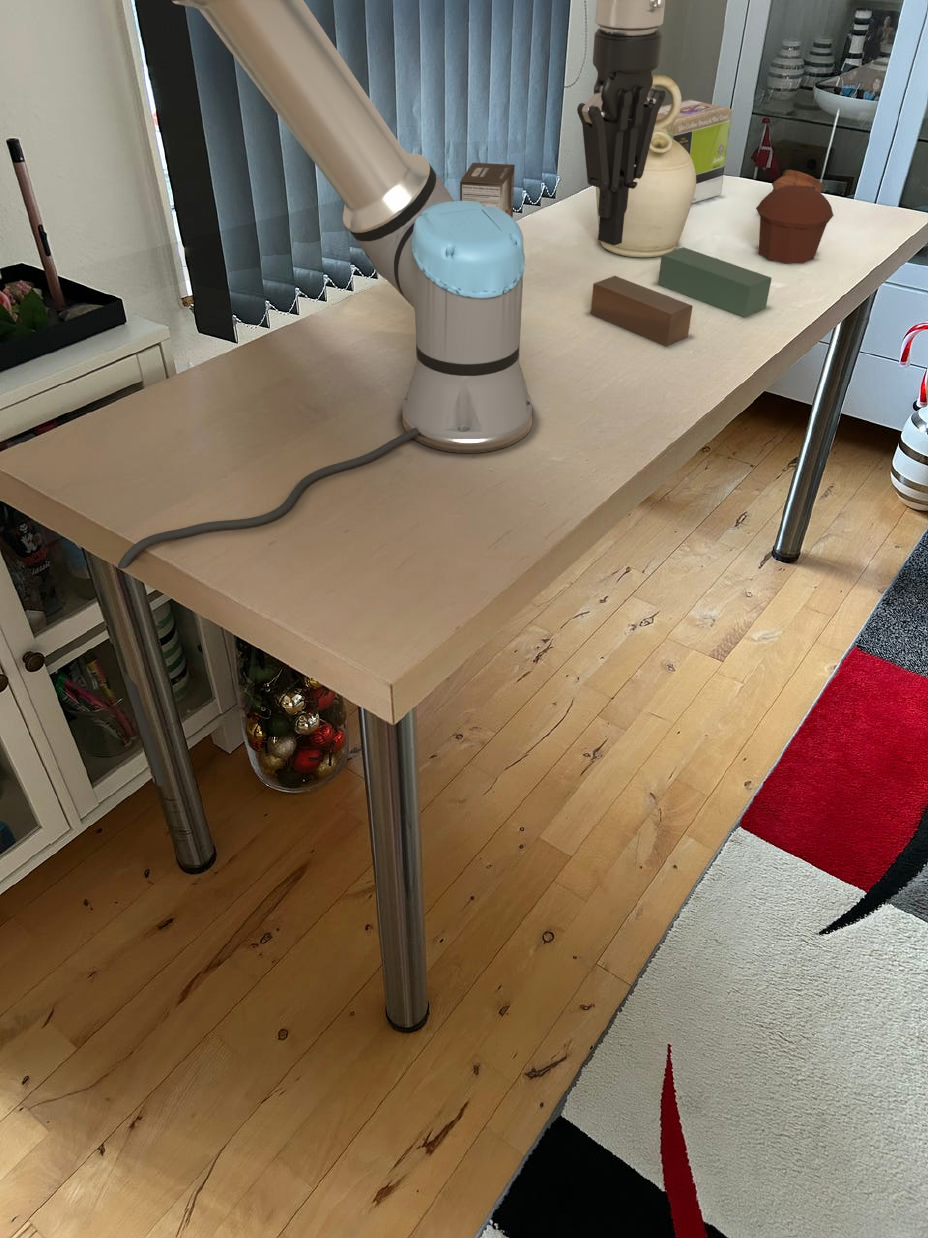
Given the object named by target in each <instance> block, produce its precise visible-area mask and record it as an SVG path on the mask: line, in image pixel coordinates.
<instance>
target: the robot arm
mask: <svg viewBox="0 0 928 1238" xmlns="http://www.w3.org/2000/svg"><path fill="white" fill-rule="evenodd" d="M171 2H172V3H173V4H175V5H179V6H185V7H186V6H187V7H192V8H195V9H197V10H199V12H200V13H201V14H202V16H203V17H204V18H205V20H206V21H207V23H208V24H209V25H210V26H211V28H212V29H213V31H214V32H215V33H216V35H217V36H218V37H219V38H220V39H221V41H222V42H223V44H224V45H225V46H226V48H227V49H228V51H229V52H230V53H231V54H232V55H233V57H234V59H236V61H237V62H238V63H239V65H240V66H241V67H242V69H243V70H244V71H245V73H246V74H247V76H249V78H250V79H251V81H252V82H253V83H254V84H255V86H256V87H257V89H258V90H259V92H260V93H261V94H262V95H263V97H264V98H265V99H266V101H267V102H268V103H269V105H270V106H271V107H272V109H273V110H274V111H275V112H276V114H277V115H278V116H279V118H280V119H281V120H282V121H283V123H284V125H285V126H286V127H287V128H288V130H289V131H290V132H291V134H292V135H293V136H294V138H295V139H296V141H297V142H298V143H299V144H300V146H301V147H302V149H304V151H305V152H306V153H307V155H308V156H309V158H310V159H311V160H312V162H313V163H314V164H315V165H316V167H317V168H318V170H319V171H320V172H321V173H322V175H323V177H324V178H325V179H326V180H327V182H328V183H329V184H330V185H331V187H332V188H333V189H334V190H335V192H336V194H337V195H338V196H339V197H340V199H341V200H342V201H343V203H344V207H343V213H342V222H343V225H344V226H345V228H346V229H347V230H348V232H349V233H350V234H351V236H352V237H353V238H354V239H355V240H356V243H358V244H359V246H360V247H361V250H362V252H363V253H364V255H365V258H366V260H367V262H368V263H369V264H370V266H371V267H372V268H373V269H374V271H375V272H376V273H377V274H378V275H380V277H382V278H383V279H384V280H386V281H387V282H388V283H389V284H390V285H391V287H393V288H394V289H395V290H396V292H398V293H399V294H400V295H401V297H403V299H405V301H406V302H407V303H408V304H409V305H410V306H411V307H412V308H413V310H414V323H415V325H414V326H415V351H416V352H415V354H416V357H415V358H416V360H415V364H414V368H413V370H412V371H413V372H412V374H411V379H410V383H409V388H408V390H407V392H406V394H405V396H404V399H403V402H402V407H401V409H402V410H401V411H402V412H401V413H402V414H401V415H402V425H403V428H404V430H405V432H404V433H402V434H400V435H399V436H397V437H395V438H393V439H391V440H389V441H388V442H386V443H384V444H382V445H381V446H379V447H378V448H376V449H374V450H372V451H370V452H368V453H365V454H363V455H361V456H358V457H354V458H351V459H349V460H345V461H340V462H338V463H334V464H330V465H328V466H324V467H322V468H319V469H317V470H315V471H312V472H311V473H309V474H307V475H305V477H303V478H301V480H300V481H299V482H298V483H296V485H295V486H294V488H293V489H292V490H291V492H290V494H288V495H289V496H288V497H287V498H286V500H285V501H284V502H282V504H281V505H279V506H278V507H277V508H275V509H273V510H271V511H269V512H266V513H264V514H261V515H258V516H257V515H256V516H252V517H247V518H239V519H229V520H228V519H227V520H225V519H224V520H214V521H209V522H203V523H198V524H193V525H190V526H186V527H182V528H177V529H171V530H168V531H161V532H157V533H155V534H151V535H149V536H146V537H144V538H143V539H140V540H139V541H137V542H136V543H134V544H133V545H132V546H131V547H130V548H129V549H128V550H127V551H126V552H125V554H123V556H122V557H121V559H120V561H119V562H118V564H117V569H119V570H123V569H127V568H128V567H129V566H130V565H131V564H132V562H133V561H134V560H135V558H137V556H138V555H140V554H141V552H143V551H144V550H146V549H147V548H149V547H151V546H154V545H156V544H160V543H163V542H167V541H172V540H176V539H180V538H181V539H183V538H186V537H191V536H194V535H197V534H202V533H206V532H212V531H223V530H235V529H244V528H251V527H258V526H262V525H266V524H268V523H270V522H273V521H275V520H277V519H279V518H281V517H283V516H284V515H285V514H287V513H288V512H289V511H290V510H291V509H292V508H293V507H294V505H295V504H296V502H297V501H298V499H299V498H300V496H301V495H302V493H303V492H304V490H305V489H307V488H308V487H309V486H310V485H312V484H313V483H315V482H316V481H318V480H320V479H322V478H324V477H326V476H329V475H332V474H335V473H338V472H342V471H345V470H349V469H352V468H356V467H359V466H362V465H365V464H367V463H370V462H372V461H374V460H376V459H378V458H380V457H382V456H384V455H385V454H387V453H389V452H391V451H392V450H393V449H395V448H397V447H399V446H401V445H403V444H405V443H406V442H408V441H410V440H412V439H413V440H415V441H416V442H418V443H419V444H422V445H424V446H427V447H429V448H432V449H435V450H438V451H443V452H449V453H458V454H477V453H486V452H492V451H497V450H501V449H504V448H507V447H510V446H512V445H514V444H516V443H518V442H519V441H521V440H522V439H523V438H525V437H526V435H527V434H528V433H529V432H530V430H531V428H532V425H533V412H534V411H533V410H534V409H533V407H534V406H533V403H532V399H531V396H530V394H529V391H528V386H527V383H526V379H525V377H524V373H523V369H522V366H521V363H520V362H521V361H520V345H521V327H522V326H521V325H522V306H523V305H522V304H523V283H524V271H525V268H526V267H525V266H526V263H525V262H526V255H525V252H524V237H523V236H524V235H523V232H522V229H521V226H520V225H519V224H518V222H517V221H516V219H514V217H513V218H512V217H511V216H510V215H508V214H507V213H505V212H504V211H502V210H500V209H498V208H495V207H493V206H489V207H485V206H484V205H483V204H482V203H477V202H470V201H460V200H454V198H453V197H452V196H451V194H450V192H449V191H448V189H447V188H446V186H445V184H444V183H443V181H442V180H441V178H440V177H439V176H438V174H437V172H436V171H435V170H434V168H433V166H431V164H430V162H429V160H428V159H427V158H426V157H425V156H424V155H422V154H419V153H411V152H406V151H405V150H404V148H403V147H402V145H401V144H400V142H399V140H398V139H397V138H396V136H395V135H394V134H393V132H392V130H391V129H390V128H389V126H388V125H387V123H386V121H385V120H384V118H383V117H382V115H381V114H380V112H379V110H378V109H377V108H376V106H375V105H374V103H373V102H372V101H371V99H370V97H369V96H368V95H367V93H366V91H365V89H363V87H362V86H361V84H360V82H359V81H358V79H357V78H356V77H355V75H354V74H353V72H352V71H351V69H350V68H349V66H348V65H347V63H346V61H345V60H344V59H343V57H342V56H341V55H340V53H339V51H338V50H337V48H336V47H335V45H334V44H333V42H332V41H331V39H330V38H329V36H328V35H327V33H326V32H325V30H324V29H323V27H322V26H321V25H320V23H319V21H318V20H317V18H316V17H315V15H314V14H313V12H312V11H311V10H310V8H309V6H308V4H307V3H306V2H305V1H304V0H171ZM595 6H596V7H595V17H594V18H595V19H594V21H595V24H596V25H597V26H598V27H599V28H597V29H596V31H595V32H594V35H593V36H594V37H593V53H592V65H593V66H594V68H595V70H596V72H597V77H596V81H595V84H594V86H593V96H592V97H591V98H590V99H589V100H588V101H587V103H584V102H580V103H578V105H577V109H576V112H577V115H578V117H579V119H580V122H581V125H582V136H583V146H584V147H583V148H584V157H585V158H584V159H585V168H586V169H585V170H586V180H587V185H589V186H592V187H595V188H596V187H598V188H599V190H600V195H599V208H598V214H599V216H600V222H599V226H598V234H597V236H598V237H597V241H599V242H601V241H602V242H605V243H608V244H611V245H613V246H614V245H617V244H620V243H622V236H623V225H624V215H625V212H626V210H627V203H628V193H629V188H631V189H634V188H636V186H637V182H634V181H633V180H635V179H636V178H637V179H640V178H641V177H642V175H643V172H644V168H645V164H646V159H647V155H648V151H649V147H650V143H651V139H652V135H653V131H654V127H655V123H656V119H657V115H658V112H659V109H660V107H661V106H663V103H664V101H665V99H666V94H667V93H666V91H665V90H663V89H660V88H657V87H654V86H653V76H652V75H653V71H655V70H656V69H657V68H658V67H659V65H660V59H661V50H662V41H663V34H662V32H661V30H660V29H658V28H660V27H661V26H662V25H663V24H664V17H665V8H666V0H596V5H595ZM634 165H636V167H635V166H634ZM598 214H597V215H598ZM124 676H125V679H126V683H127V688H128V692H129V695H130V698H131V702H132V705H133V709H134V711H135V715H136V719H137V721H138V724H139V728H140V730H141V733H142V734H141V735H142V736H143V740H144V743H145V746H146V749H147V753H148V756H149V759H150V762H151V767H152V769H153V774H154V777H155V781H156V785H157V786H158V787H163V786H165V784H166V780H165V775H164V772H163V767H162V764H161V760H160V756H159V753H158V749H157V746H156V743H155V739H154V737H153V733H152V730H151V727H150V723H149V721H148V717H147V715H146V711H145V708H144V705H143V701H142V698H141V697H142V696H141V694H140V690H139V687H138V685H137V684H136V683H135V682H134V680H133V679H132V678H131V677H130V676H129V675H128V674H127V673H126V672H124Z"/></svg>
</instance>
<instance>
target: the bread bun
mask: <svg viewBox="0 0 928 1238" xmlns="http://www.w3.org/2000/svg"><path fill="white" fill-rule="evenodd" d="M793 185H798V186H806V187H810V188H813V189H815V190H817V191H818V192H820V193H821V194H822V190H823V189H824V187H825V186H824V184H823V183H822V182H821V181H820V180H819V179H817V178H815V177H814V176H812V175H810V174H807V173H804V172H801V171H799V170H793V169H784V171H782V176H779V177H778V178H776V179H775V180H774V181H773V182H772V183H771V186H772V190H771V192H772V191H774V190H776V189H779V188H781V187H785V186H793Z"/></svg>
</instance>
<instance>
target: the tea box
mask: <svg viewBox="0 0 928 1238" xmlns="http://www.w3.org/2000/svg"><path fill="white" fill-rule="evenodd" d="M670 108H671V103H670V104H666V105H661V107H660V109H659V112H658V115H657V119H656V121H657V120H660V119H662V118H663V117H665V116H666V115H667V113H668V112H669V110H670ZM732 115H733V109H732V108H729V107H724V106H719V105H715V104H712V103H711V104H710V103H707V102H706V103H705V102H702V101H698V100H693V99H692V98H691V99H686V100H683V101H682V100H681V109H680V112H679V114H678V116H677V118H676V120H675V121H674V122H673V123H672V124H671V125H670V126H669V127H668V129H667V132H668V135H670V137H671V138H672V139H674V140H675V141H677V142H678V143H679V144H680V145H681V146H682V147H683V148H684V149H685V150H686V151H687V152H688V153H689V155H690V156H691V159H692V161H693V164H694V168H695V173H696V189H695V194H694V198H693V201H692V204H695V203H698V202H701V201H704V200H707V199H711V198H713V197H717V196H721V195H722V189H723V183H724V173H725V166H726V160H727V154H728V153H727V152H728V146H729V145H728V144H729V138H730V132H731V131H730V130H731V122H732Z"/></svg>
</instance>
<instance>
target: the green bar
mask: <svg viewBox="0 0 928 1238" xmlns="http://www.w3.org/2000/svg"><path fill="white" fill-rule="evenodd" d="M772 280H773V277H771V276H769V275H765V274H763V273H759V272H756V271H753V270H750V269H748V268H745V267H742V266H739V265H736V264H733V263H731V262H728V261H725V260H722V259H719V258H716V257H714V256H711V255H708V254H705V253H702V252H700V251H696V250H693V249H690V248H687V247H685V246H682V247H680V248H677V249H674V250H673V251H671V252H668V253H665V254H663V255H662V256H660V264H659V272H658V281H657V285H658V286H661V287H664V288H666V289H669V290H671V291H673V292H675V293H676V292H677V293H680V294H682V295H684V296H686V297H687V296H688V297H689V298H692V299H695V300H698V301H700V302H703V303H706V304H708V305H711V306H713V307H716V308H719V309H721V310H724V311H727V312H729V313H732V314H734V315H737V316H739V317H743V318H746V317H747V318H748V317H749V316H752V315H753V314H755V313H759V312H760V311H763V310H765V309H766V308H767V304H768V298H769V295H770V289H771V283H772Z"/></svg>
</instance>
